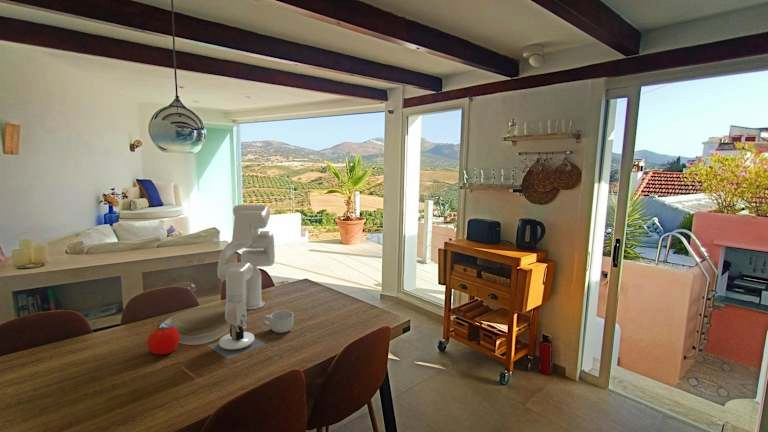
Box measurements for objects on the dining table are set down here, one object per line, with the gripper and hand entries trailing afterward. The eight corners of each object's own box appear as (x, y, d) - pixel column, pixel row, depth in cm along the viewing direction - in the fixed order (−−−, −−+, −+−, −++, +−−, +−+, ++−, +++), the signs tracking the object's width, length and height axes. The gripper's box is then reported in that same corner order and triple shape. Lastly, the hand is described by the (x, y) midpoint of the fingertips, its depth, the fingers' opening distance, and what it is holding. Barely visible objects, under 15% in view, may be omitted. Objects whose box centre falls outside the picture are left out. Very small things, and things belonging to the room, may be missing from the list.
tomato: (187, 349, 152) (186, 325, 151) (160, 361, 142) (159, 336, 141) (168, 342, 157) (167, 319, 156) (140, 354, 147) (139, 329, 146)
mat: (207, 346, 155) (207, 345, 155) (244, 333, 168) (244, 332, 168) (228, 360, 144) (227, 359, 144) (265, 345, 157) (265, 344, 157)
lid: (212, 341, 155) (212, 324, 154) (243, 330, 166) (243, 315, 165) (229, 353, 147) (229, 335, 145) (260, 340, 157) (260, 324, 156)
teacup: (296, 326, 177) (296, 310, 176) (288, 336, 166) (288, 319, 165) (269, 324, 178) (269, 309, 177) (259, 334, 168) (259, 317, 167)
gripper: (217, 293, 156) (218, 334, 158) (238, 304, 145) (239, 347, 148) (234, 289, 162) (234, 328, 164) (255, 299, 151) (255, 341, 154)
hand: (236, 337), depth 156 cm, fingers closed on lid, 4 cm apart
